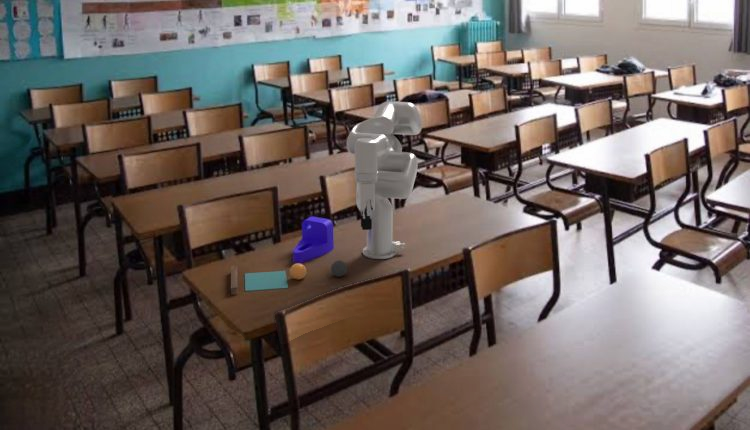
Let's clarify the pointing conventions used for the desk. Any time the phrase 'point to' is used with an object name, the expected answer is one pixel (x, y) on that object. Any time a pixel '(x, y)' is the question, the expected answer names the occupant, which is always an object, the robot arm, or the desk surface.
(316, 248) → the bracket
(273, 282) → the teal mark
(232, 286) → the wooden bar
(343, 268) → the grey ball
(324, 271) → the desk surface
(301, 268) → the orange ball
